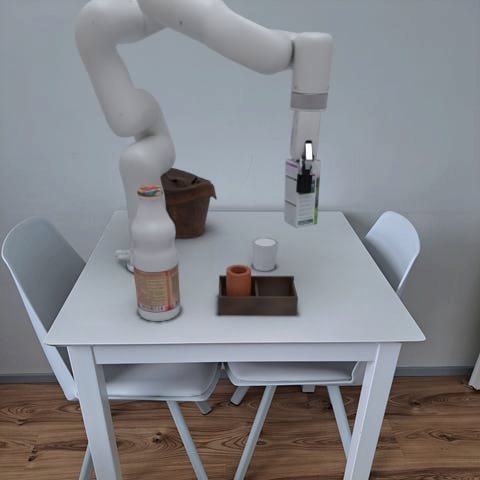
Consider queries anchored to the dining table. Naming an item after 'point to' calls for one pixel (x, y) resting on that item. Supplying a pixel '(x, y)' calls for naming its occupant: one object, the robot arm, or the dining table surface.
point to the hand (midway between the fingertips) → (301, 186)
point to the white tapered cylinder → (264, 253)
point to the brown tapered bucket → (187, 201)
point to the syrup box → (300, 196)
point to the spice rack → (261, 297)
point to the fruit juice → (155, 257)
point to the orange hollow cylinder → (238, 280)
